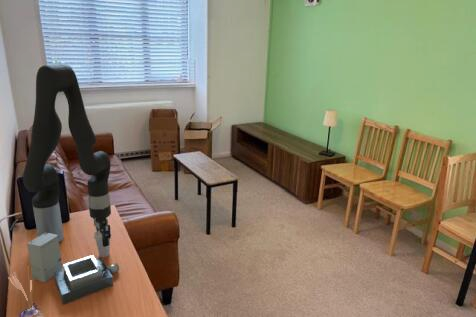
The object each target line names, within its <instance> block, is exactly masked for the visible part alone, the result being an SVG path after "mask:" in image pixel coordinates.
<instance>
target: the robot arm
mask: <svg viewBox="0 0 476 317" xmlns="http://www.w3.org/2000/svg"><path fill="white" fill-rule="evenodd" d="M35 78H36V79H35V80H36V81H35V106H34V107H35V108H34V115H33V121H32V122H33V123H32V128H31V135H30V136H31V137H30V144H29V149H28V156H27V159H26V161H25V162H26V164H25V166H24V170H23V174H22V182H23V185H24V188H26V190H27V191H28V192H31V193H36V194H35V195H33V197H32V199H31V204H32V209H33V215H34V220H35V225H36V226H35V228H36V232H37V237H38V236H41V235H42V234H44V233H51V234H55V235H58V239H59V243H61V242H62V241H63V240H64V230H63V222H62V216H61V214H62V213H61V209H60V203H59V202H60V201H59V198H60V194H61V193H60V182H59V180H60V179H59V174H58V172H57V170H56V168H55V167H54V166H53V165H52V164H50V163H47V162H48V160H49V159H50V157H51V156H52V154H54V151H55V150H56V149H57V147H58V145H59V143H60V140H61V136H62V130H63V126H62V120H61V119H60V116H59V114H58V112H57V111H56V107H55V106H56V99H57V95H58V93H63V94H64V96H65V99H66V101H67V106H68V120H67V121H68V129H69V132H70V134H71V137H72V139H73V141H74V144H75V145H76V150H77V152H76V153H77V158H78V164H79V167H80V169H81V170H82V172H83V173H84V174H86V175H87V176H91V177H89V179H88V180H87V183H86V184H87V192H88V195H87V196H88V199H87V201H88V209H89V217H90V218H91V219H93V226H94V227H95V230H96V232H97V231H99V233H101V236H102V242H103V247H106V246H109V238H110V239H111V238H112V232H111V233H110V231H111V225H110V224H109V220H108V219H107V218H108V217H110V215H111V214H112V209H111V208H112V207H111V206H112V204H111V198H110V191H109V178H110V172H111V166H112V165H111V164H112V163H111V159H110V158H111V157H110V156H109V154H108V153H106V152H105V151H103V150H99V151H96V152H94V150H93V149H94V146H96V145H97V143H98V139H97V137H96V134H95V132H94V130H93V127H92V126H91V124H90V121H89V118H88V115H87V112H86V109H85V105H84V100H83V97H82V92H81V89H80V84H79V80H78V77H77V75H76V72H75V70H74V69H73V68H72V67H71V66H70V65H68V64H66V63H54V64H45V65H42V66H40V67H39V69H38V70H37V73H36V77H35ZM101 230H103V231H101Z"/></svg>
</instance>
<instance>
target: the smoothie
mask: <svg viewBox="0 0 476 317" xmlns="http://www.w3.org/2000/svg"><path fill="white" fill-rule="evenodd" d="M101 231H103V230H101ZM110 233H111V234H112V231H111V230H110ZM93 239H94V241H95V243H96V247H97V250H98V256H99V258H100V257H101V258H107V257H109V256H110V248H111V238H109V246H106V247H103V242H102V236H101V233H99V231H97V230H96V232H94V234H93Z"/></svg>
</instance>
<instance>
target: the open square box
mask: <svg viewBox="0 0 476 317" xmlns="http://www.w3.org/2000/svg"><path fill="white" fill-rule="evenodd" d="M62 267H63V269H62V270H60V271H57V272H54V276H53V277H54V282H55V285H56V288H57V290H58V294H59V296H60V299H61V301H62V302H61V303H62V304H63V305H66V304H69V303H72V302H74V301H76V300H80V299H82V298H85V297H87V296H89V295H92V294H95V293H97V292H100V291H103V290H105V289H108V288H110V287H111V288H112V287H113V286H114V280H113V275H112V274H115V273H117V272H119V271H120V266H119V264H118V263H117V262H116V263H112V264H110V265H106V263H105V261H104V259H103V257H100V256H99V257H96V258H95V256H94V254H93V255H89V256H85V257H83V258H79V259H77V260H76V259H75V260H73V261H70V262H67V263H64V264H63V263H62Z"/></svg>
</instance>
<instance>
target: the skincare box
mask: <svg viewBox="0 0 476 317" xmlns="http://www.w3.org/2000/svg"><path fill="white" fill-rule="evenodd" d="M26 246H27V252H28V257H29V264H30V268H31V274H32V278H34V280H36V281H38V282H42V283H45V284H46V283H47V282H48V281H49V280H51V279H52V278H53V277H54V272H57V271H60V270H63V269H64V268H63V262H62V261H63V260H62V254H61V247H60V242H59V239H58V235H55V234H51V233H44V234H42V235H41V236H38V235H37V237H35V238H34V239H32V240H30V241H29V242H27V243H26Z"/></svg>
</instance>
